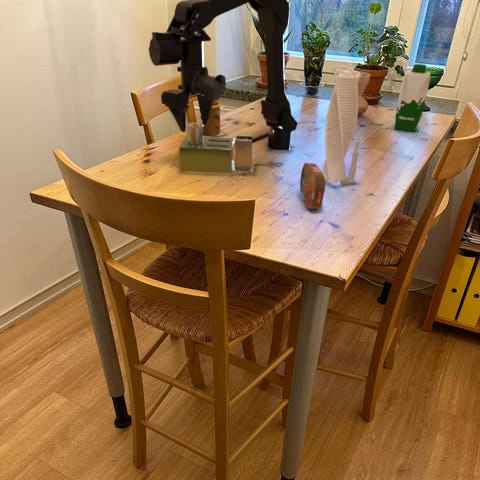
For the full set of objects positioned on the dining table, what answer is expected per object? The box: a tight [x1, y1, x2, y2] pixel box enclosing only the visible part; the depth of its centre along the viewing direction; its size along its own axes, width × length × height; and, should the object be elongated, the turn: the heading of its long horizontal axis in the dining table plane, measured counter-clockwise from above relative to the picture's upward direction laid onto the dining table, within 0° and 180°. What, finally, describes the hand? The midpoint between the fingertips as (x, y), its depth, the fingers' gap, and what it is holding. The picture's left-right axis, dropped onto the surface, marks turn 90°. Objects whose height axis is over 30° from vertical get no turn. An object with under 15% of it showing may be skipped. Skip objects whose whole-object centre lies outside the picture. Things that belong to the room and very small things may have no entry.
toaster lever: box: [244, 127, 274, 144], centre depth 125 cm, size 10×6×2 cm, turn 85°
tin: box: [299, 162, 326, 210], centre depth 112 cm, size 15×3×8 cm, turn 5°
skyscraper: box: [321, 64, 361, 187], centre depth 117 cm, size 8×8×28 cm
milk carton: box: [393, 63, 432, 133], centre depth 160 cm, size 9×9×20 cm
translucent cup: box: [185, 122, 203, 144], centre depth 126 cm, size 4×4×5 cm
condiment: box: [201, 98, 226, 137], centre depth 153 cm, size 7×8×12 cm
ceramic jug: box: [336, 71, 371, 116], centre depth 177 cm, size 18×14×14 cm
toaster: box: [178, 135, 236, 175], centre depth 129 cm, size 15×10×7 cm
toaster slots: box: [206, 139, 230, 147], centre depth 127 cm, size 6×6×1 cm
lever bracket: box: [231, 134, 256, 174], centre depth 128 cm, size 6×8×9 cm
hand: (194, 127), depth 125 cm, fingers open, 9 cm apart
